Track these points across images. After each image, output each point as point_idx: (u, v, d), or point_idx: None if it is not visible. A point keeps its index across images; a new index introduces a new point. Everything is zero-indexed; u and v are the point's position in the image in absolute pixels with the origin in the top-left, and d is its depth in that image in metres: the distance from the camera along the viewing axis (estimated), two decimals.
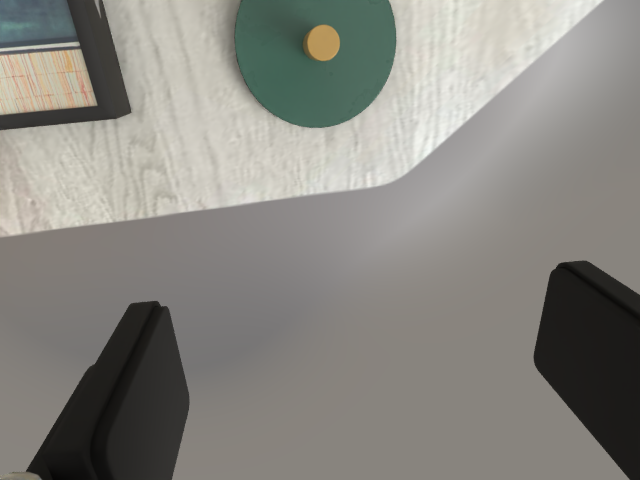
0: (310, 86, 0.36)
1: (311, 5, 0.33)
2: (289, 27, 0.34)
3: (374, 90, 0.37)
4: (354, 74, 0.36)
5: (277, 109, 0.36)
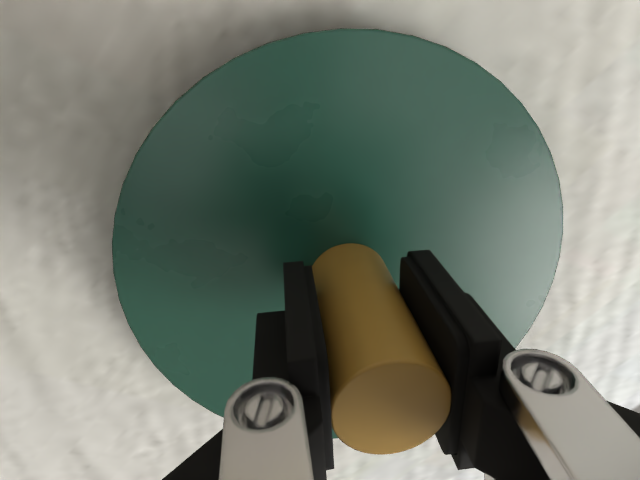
0: None
1: (335, 187, 0.11)
2: (271, 242, 0.12)
3: None
4: None
5: None
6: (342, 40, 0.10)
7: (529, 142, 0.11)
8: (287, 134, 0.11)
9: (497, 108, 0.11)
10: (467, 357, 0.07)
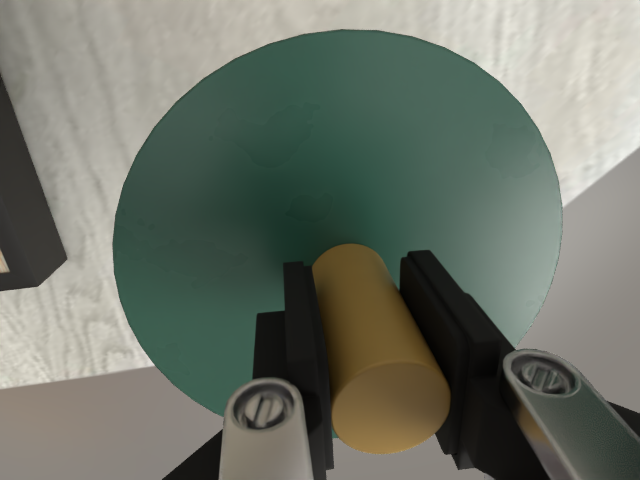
0: None
1: (335, 187, 0.11)
2: (271, 242, 0.12)
3: None
4: None
5: None
6: (342, 41, 0.10)
7: (529, 143, 0.11)
8: (287, 135, 0.11)
9: (497, 109, 0.11)
10: (467, 357, 0.07)
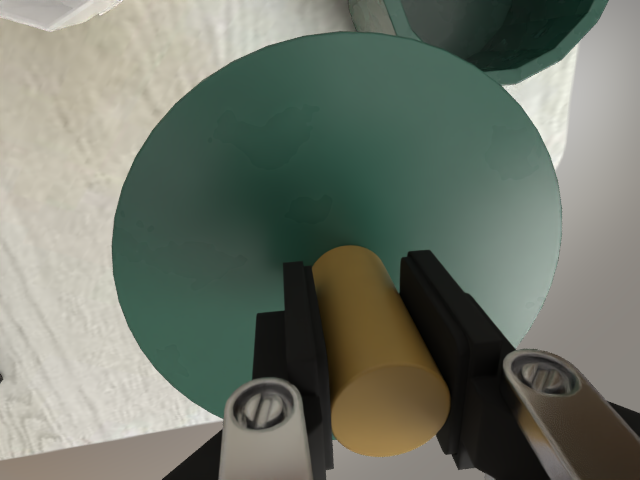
0: None
1: (334, 189, 0.11)
2: (270, 244, 0.12)
3: None
4: None
5: None
6: (341, 43, 0.10)
7: (528, 145, 0.11)
8: (286, 137, 0.11)
9: (497, 111, 0.11)
10: (467, 358, 0.07)
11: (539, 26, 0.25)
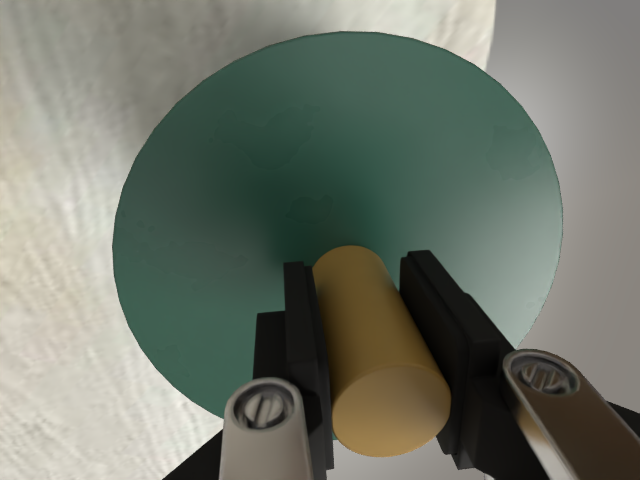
0: None
1: (335, 189, 0.11)
2: (271, 244, 0.12)
3: None
4: None
5: None
6: (342, 43, 0.10)
7: (529, 145, 0.11)
8: (287, 137, 0.11)
9: (497, 111, 0.11)
10: (467, 357, 0.07)
11: None
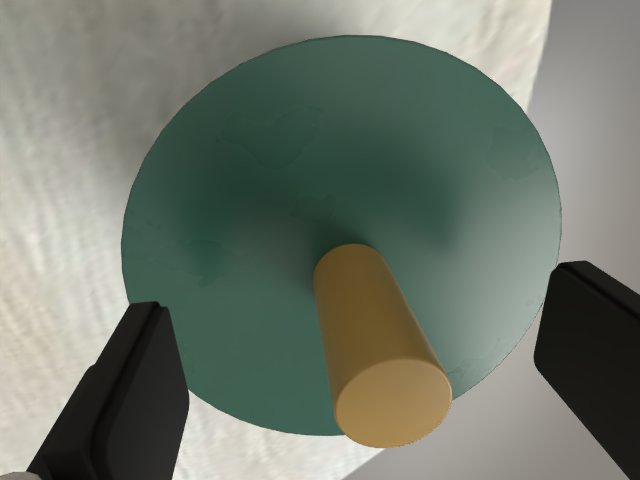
0: None
1: (338, 188, 0.12)
2: (275, 243, 0.12)
3: (488, 360, 0.15)
4: (443, 333, 0.14)
5: (247, 410, 0.15)
6: (346, 46, 0.10)
7: (528, 145, 0.12)
8: (292, 137, 0.11)
9: (497, 112, 0.11)
10: None
11: None
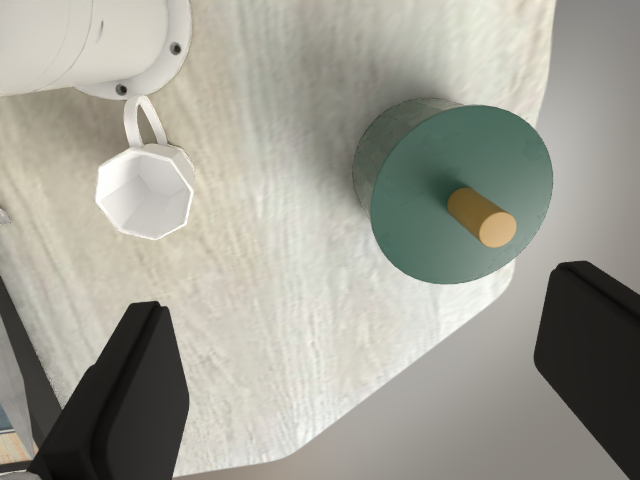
0: (449, 244, 0.31)
1: (462, 164, 0.29)
2: (434, 186, 0.29)
3: (519, 245, 0.32)
4: None
5: (409, 268, 0.32)
6: (472, 109, 0.27)
7: (539, 146, 0.29)
8: (447, 143, 0.28)
9: (527, 133, 0.28)
10: None
11: None
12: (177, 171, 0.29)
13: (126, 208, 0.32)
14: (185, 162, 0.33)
